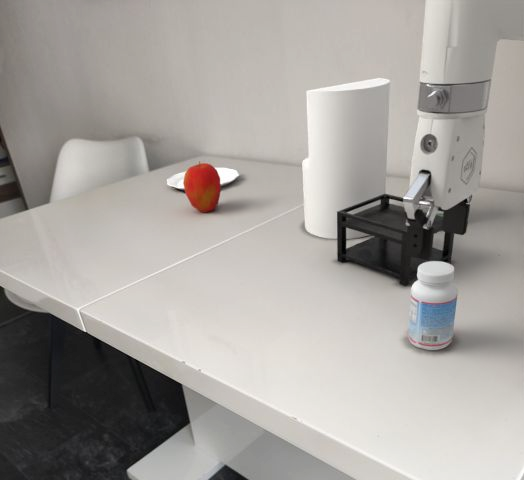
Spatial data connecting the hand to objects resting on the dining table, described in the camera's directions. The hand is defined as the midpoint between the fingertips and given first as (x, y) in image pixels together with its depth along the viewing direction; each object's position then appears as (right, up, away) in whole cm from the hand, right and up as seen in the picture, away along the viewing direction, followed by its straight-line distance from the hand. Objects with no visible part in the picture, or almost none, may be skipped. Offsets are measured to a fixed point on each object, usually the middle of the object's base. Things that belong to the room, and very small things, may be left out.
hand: (436, 244), depth 69 cm
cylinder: (-4, +14, +50) cm, 52 cm away
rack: (+2, +3, +31) cm, 31 cm away
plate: (-39, +35, +88) cm, 102 cm away
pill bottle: (+2, -12, +8) cm, 15 cm away
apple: (-36, +21, +66) cm, 78 cm away
